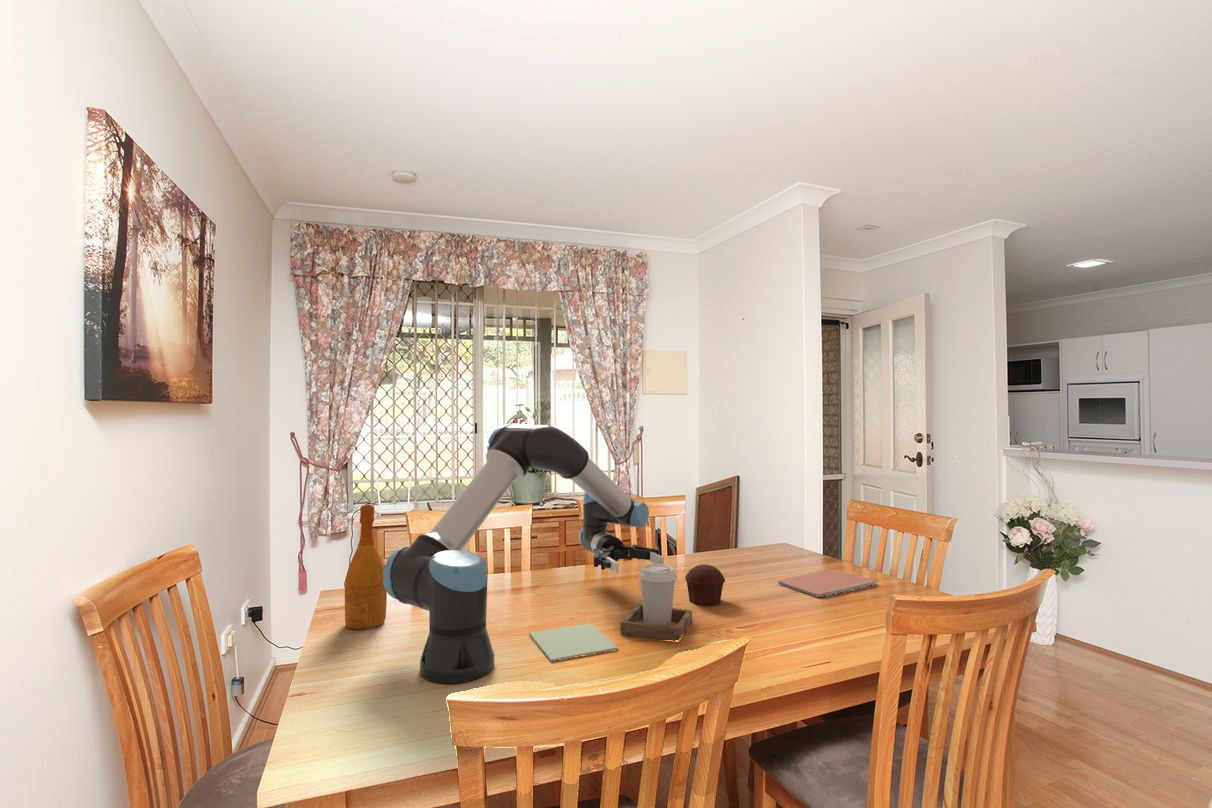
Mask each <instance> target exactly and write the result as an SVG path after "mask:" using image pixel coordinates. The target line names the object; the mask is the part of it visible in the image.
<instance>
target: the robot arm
mask: <svg viewBox="0 0 1212 808" xmlns="http://www.w3.org/2000/svg"><path fill="white" fill-rule="evenodd" d="M488 438H489V439H488V441H487V443H488V446H487V447H486V449H487V450H486V451H487V452H486V454H485V459H486V463H485V464H484V465H483V466H482V468H481V469H480V470H479V471H478V472H477V473H476V475H475V476H473V478H472V480H471V481H469V482H470V483H468V484H467V486H466V487H465V489H463V491H462V492H461V493H460V494H459V496H457V499H455V500H454V502H453V503H452V505H451V506H450V507H449V508H448V509H447V511H446V512H445V513H444V514H443V516H442V517H441V518H440V519H439V520H438V522H437V523H436V524H435V525H434V526H433V528H432V529H431V531H429V533H420V534H419V535H418V537H417V538H416V539H415V540H414V541H413V542H412V544H411V545H410V546H403V547H401V548H398V549H396V550H395V551H393V552H392V553H391V554H390V556H388V558H387V560H386V562H385V564H384V570H383V576H384V577H383V583H384V587H385V589H386V591H387V595H389V596H390V597H391V598H392V599H395V600H397V601H398V602H400V603H402V604H405V605H410V606H413V607H416V608H419V609H421V610H425V611H428V612H429V616H428V617H429V621H428V622H429V623H428V624H429V625H428V627H429V630H428V631H429V632H428V636H427V639H426V641H425V645H424V647H423V651H422V654H421V657H420V660H419V673H420V675H421V677H422V678H424V679H425V680H427V681H429V682H432V683H437V684H445V683H452V684H458V683H457V682H462V683H466V681H467V682H470V680H471V681H474V679H475V680H477V679H480V678H482V677H485V676H486V675H487V674H489V673H490V672H491V671H492V670H493V668H494V666H495V653H494V649H493V646H492V644H491V643H492V642H491V638H490V636H489V634H488V630H487V608H488V607H487V600H488V574H487V571H488V570H487V562H486V560H485V559H484V558H483V557H482V556H481V555H479V554H477V553H474V552H473V551H469V550H464V549H465V547H466V546H467V544H468V543H469V542H470V541H471V539H472V538H473V537H474V535H475V534H476V532H477V531H478V530H479V529H480V527H482V525H483V523H484V522H485V520H486V519H487V518H488V516H489V515H490V514H491V512H492V511H493V509H494V508H495V507H496V506H497V504H498V503H499V502H500V500H501V499H502V498H503V496H504V495H505V493H506V492H507V491H508V490H509V488H510V487H511V485H512V484H513V483H516V482H521V481H522V480H523V479H524V478H525V476H526V475H527V474H528V473H529V471H530V470H532V469H533V470H543V471H549V472H553V473H555V474H557V475H559V476H560V477H561V478H563V479H565V480H571V481H572V482H573V483H574V484H575V485H577V486H578V487H579V488H580V489H581V490H582V491H584V493H583V503H582V506H583V507H582V508H583V509H582V514H583V515H582V521H583V523H582V524H583V525H582V528H581V529H580V531H579V534H578V542H579V544H580V545H581V546H582V547H583V548H584V550H586V551H588V552H590V553H593V567H594V568H597V567H599V566H600V570H601V571H603V570H606V569H608V570H609V571H611V572H613V573H614V574H619V573H620V571H619V570H620V569H619V562H618V561H619V560H632V559H638V560H645V561H650V563H651V564H663V565H665V557H664V556H662V555H660V554H661V553H660V552H661V550H660V549H656V548H650V547H645V546H640V545H637V544H632V546H628V545H625V544H624V543H623V541H622V540H621V539H620V538H619V537H617V536H615V535H612V534H611V533H609V532H608V524H613V525H619V526H627V527H631V528H643V527H644V526H645V525H646V524H647V522H648V519H649V517H650V516H649V515H650V511H649V510H650V509H649V507H648V505H647V504H646V503H645V502H643V501H640V500H633V499H632V498H631V497H630V496H629V495H628V494H627V493H626V492H625V491H624V490H623V489H622V488H620V486H619V485H618V484H616V483H615V481H613V480H612V478H610V477H609V476H608V475H607V474H606V473H605V472H604V471H603V469H601V468H600V467H599V466H598V465H597V464H596V463H595V462H594V461H593V460H592V459H590V455H589V452H588V451H587V449H586V448H585V447H584V446H582V444H580V443H579V442H578V441H577V440H575V438H573V437H572V436H570V435H569V434H568V433H566V432H564V431H563V430H561V429H559V428H557V427H555V426H551V425H548V424H526V423H525V424H524V423H523V424H522V423H509V424H507V423H506V424H504V425H501V426H499V427H497V428H496V429H494V431H493V432H492V433H491V435H490V437H488Z"/></svg>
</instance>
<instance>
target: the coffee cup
mask: <svg viewBox="0 0 1212 808" xmlns="http://www.w3.org/2000/svg"><path fill="white" fill-rule="evenodd" d="M638 578H639V579H640V588H641V602H642V603H641V604H642V605H643V617H642V618H643V624H650V625H657V626H664V627H671V624H672V621H671V615H672V608H673V603H674V591H675V582H676V580H677V578H678V577H677V573H676V572H675V569H674V567H672V566H671V565H668V564H664V565H663V564H654V563H650V564H645V565H643V566H641V570H639V573H638Z"/></svg>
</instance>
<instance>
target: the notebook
mask: <svg viewBox="0 0 1212 808" xmlns="http://www.w3.org/2000/svg"><path fill="white" fill-rule="evenodd" d="M776 582H777V584H778V585H779V584H780V585H779V586H782V585H783V587H785V586H786V587H785V588H788V587H789V588H788V589H791V588H793V589H792V590H794V589H796V590H795V591H797V590H799V591H798V592H800V591H802V592H805V593H808V594H811V595H814V596H817V597H822V598H824V597H823V596H826V597H827V598H828V597H829V598H830V597H831V596H832V597H835V596H836V595H839V594H840V595H843V594H845V593H846V594H847V592H849V593H850V591H852V592H853V591H856V590H859V589H861V590H864V589H866V588H867V589H868V588H869V587H872V586H874V587H875V585H876V582H877V581H876V580H873V579H869V578H866V577H863V576H859V575H856V574H852V573H850V572H846V571H842V570H839V569H835V568H832V569H827V570H821V571H818V572H812V573H807V574H803V575H797V576H792V577H789V578H787V577H786V578H783V579H779V580H776ZM874 584H875V585H874ZM870 585H872V586H870ZM864 586H866V587H864ZM867 586H868V587H867ZM861 587H862V588H861ZM858 588H859V589H858ZM863 588H864V589H863ZM852 589H853V590H852ZM855 589H856V590H855ZM849 590H850V591H849ZM846 591H847V592H846ZM802 592H801V593H802ZM840 592H842V593H843V594H842V593H840ZM805 593H804V594H805ZM835 593H836V594H835ZM837 593H839V594H837ZM808 594H807V595H808ZM832 594H833V595H832ZM834 594H835V596H834ZM811 595H810V596H811ZM827 595H828V596H827ZM829 595H830V596H829ZM814 596H813V597H814ZM817 597H816V598H817ZM826 597H825V598H826Z"/></svg>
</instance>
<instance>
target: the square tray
mask: <svg viewBox="0 0 1212 808" xmlns="http://www.w3.org/2000/svg"><path fill="white" fill-rule="evenodd" d="M641 618H643V605H642V603H637V605H635V607H634V608H633V609H632V610H630V612H629V613H628V614H627V615H626V616H625V617H624V618H623V619H622V620H621V621H620V629H619V630H620V632H619V633H620V635H622V636H629V637H633V638H641V639H647V640H653V639H655V640H654V641H659V640H673V641H675V640H679V639H680V638H681V637H682V635H683V634H684V633H685V632H686V633H687V631H688V629H689V628H690V626H691V625H692V623H693V610H690V609H689V610H688V609H682V608H675V607H674V608H673V607H672V615H671V622H673V621H674V622H673V623H677V624H676V626H675V627H671V626H670V627H664V626H657V625H650V624H644V622H643V623H642V622H638V621H639V620H640V619H641ZM686 633H685V634H686ZM685 634H684V635H685ZM682 638H683V637H682Z"/></svg>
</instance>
